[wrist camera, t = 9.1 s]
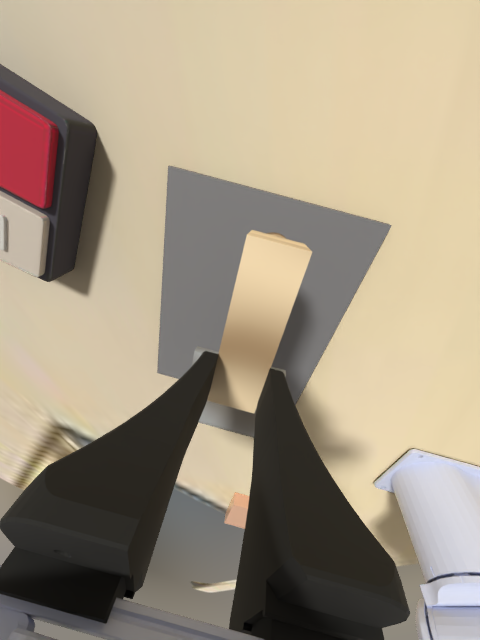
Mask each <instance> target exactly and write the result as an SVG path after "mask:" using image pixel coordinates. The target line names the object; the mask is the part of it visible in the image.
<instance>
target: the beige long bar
mask: <svg viewBox="0 0 480 640" xmlns="http://www.w3.org/2000/svg"><path fill="white" fill-rule="evenodd" d="M311 255H312V251H311V250H310V249H309V248H308V247H307V246H306V245H305V244H304V243H300V242H296V241H292V240H289V239H286V238H285V237H284V236H283V235H281V234H279V233H275V232H271V233H267V234H266V233H262V232H259V231H255V230H251V231H250V232H249V233H248V234H247V236H246V240H245V244H244V249H243V253H242V257H241V261H240V265H239V270H238V274H237V278H236V282H235V286H234V291H233V295H232V299H231V303H230V307H229V312H228V316H227V320H226V324H225V328H224V333H223V337H222V341H221V345H220V349H219V352H217V351H213V350H209V349H206V348H202V347H198V346H197V347H196V349H195V351H194V357H193V362H192V365H193V364H194V363H195V362H196V361H197V360H198V358H199V357H200V356H201V355H202V353H203V352H204V351H208V352H212V353H216V354H219V355H218V360H217V364H216V368H215V372H214V376H213V381H212V385H211V389H210V392H209V396H208V399H207V402H206V405H205V408H204V410H203V412H202V415H201V417H200V419H199V423H203V424H206V425H210V426H214V427H217V428H221V429H224V430H228V431H232V432H235V433H239V434H242V435H246V436H250V437H253V438H254V430H255V416H256V409H257V403H258V400H259V397H260V395H261V392H262V389H263V386H264V383H265V381H266V378H267V375H268V372H269V369H270V368H271V369H275V370H279V371H282V372H283V373H284V374H285V377H286V370H282V369H279V368H275V367H271V366H272V363H273V360H274V357H275V355H276V352H277V349H278V346H279V344H280V341H281V338H282V335H283V332H284V330H285V327H286V324H287V321H288V319H289V316H290V313H291V310H292V307H293V305H294V302H295V299H296V296H297V294H298V291H299V288H300V285H301V282H302V280H303V277H304V274H305V271H306V269H307V266H308V263H309V260H310V257H311Z"/></svg>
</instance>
